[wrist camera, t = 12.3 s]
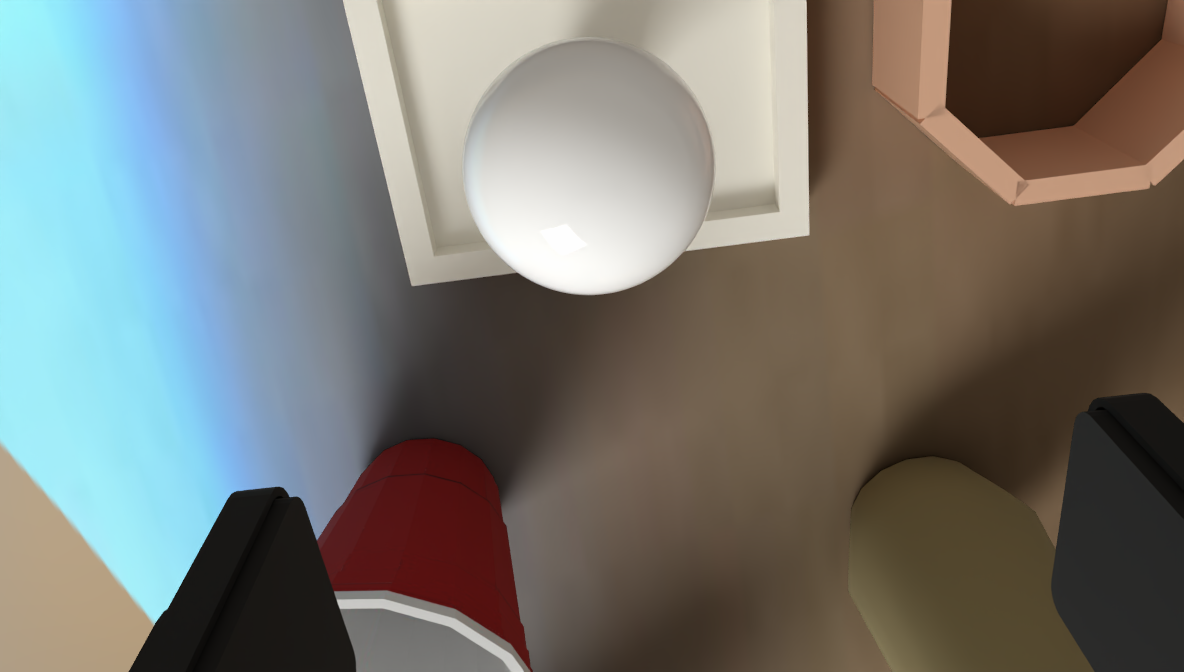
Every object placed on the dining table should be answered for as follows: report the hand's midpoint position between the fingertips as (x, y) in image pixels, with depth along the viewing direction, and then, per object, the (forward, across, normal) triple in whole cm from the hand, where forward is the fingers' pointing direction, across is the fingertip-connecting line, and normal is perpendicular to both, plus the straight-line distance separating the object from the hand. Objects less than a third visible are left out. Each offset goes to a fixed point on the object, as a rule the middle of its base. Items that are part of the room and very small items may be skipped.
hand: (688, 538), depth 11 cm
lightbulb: (+22, +1, 0) cm, 22 cm away
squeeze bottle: (+23, -11, +20) cm, 32 cm away
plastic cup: (+23, +10, +16) cm, 29 cm away
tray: (+23, +1, 0) cm, 23 cm away
